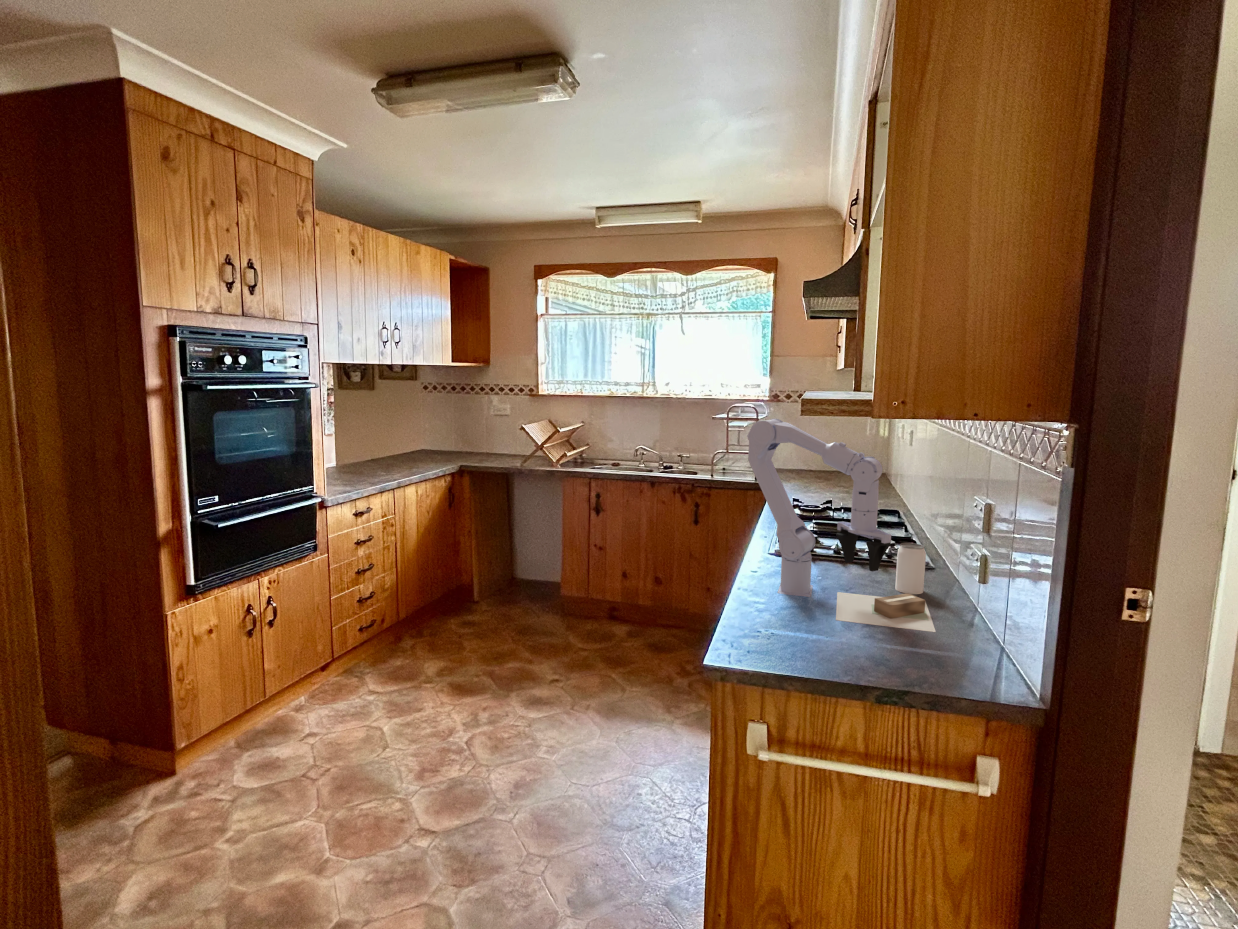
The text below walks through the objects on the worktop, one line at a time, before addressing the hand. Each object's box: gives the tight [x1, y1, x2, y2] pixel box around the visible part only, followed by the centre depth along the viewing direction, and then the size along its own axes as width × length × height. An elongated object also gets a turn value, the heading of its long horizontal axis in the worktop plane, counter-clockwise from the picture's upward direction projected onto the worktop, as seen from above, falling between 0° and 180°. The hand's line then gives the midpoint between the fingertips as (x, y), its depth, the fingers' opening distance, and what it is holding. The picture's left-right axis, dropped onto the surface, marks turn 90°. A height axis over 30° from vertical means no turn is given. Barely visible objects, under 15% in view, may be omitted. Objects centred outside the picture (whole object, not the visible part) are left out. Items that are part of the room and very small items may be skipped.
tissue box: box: [874, 593, 926, 619], centre depth 150 cm, size 10×5×3 cm, turn 112°
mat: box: [835, 591, 936, 633], centre depth 152 cm, size 20×20×1 cm
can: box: [894, 542, 927, 595], centre depth 165 cm, size 6×6×12 cm
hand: (861, 566), depth 156 cm, fingers open, 7 cm apart
